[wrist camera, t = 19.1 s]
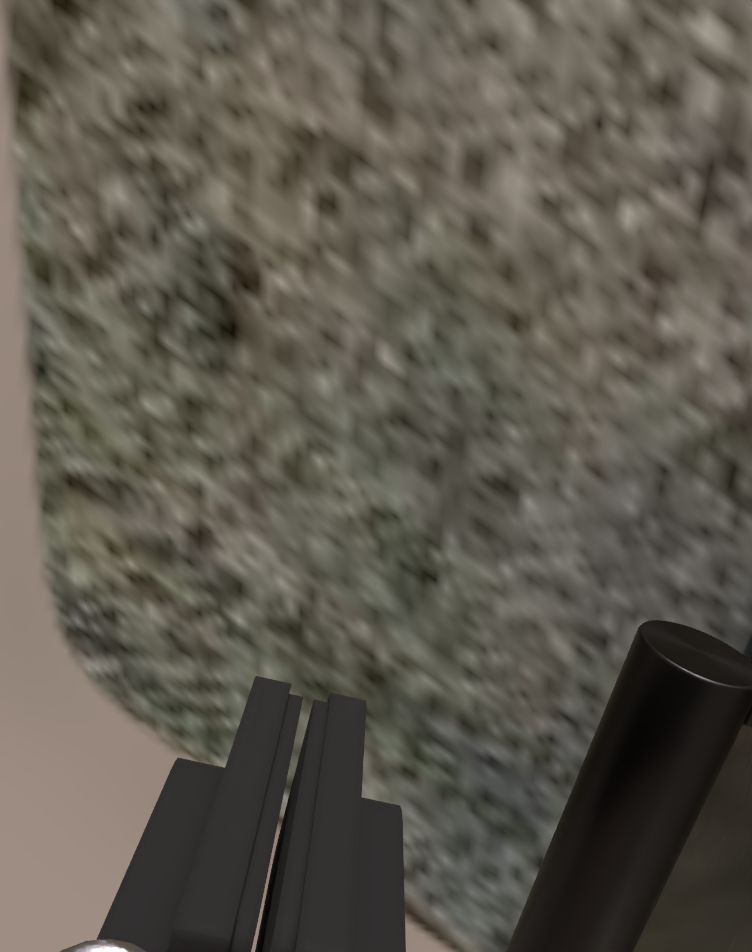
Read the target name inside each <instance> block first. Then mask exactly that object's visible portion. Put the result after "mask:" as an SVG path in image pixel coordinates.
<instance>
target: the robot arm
mask: <svg viewBox="0 0 752 952" xmlns="http://www.w3.org/2000/svg"><path fill="white" fill-rule="evenodd" d="M290 687H291V684H289V683H285V682H281V681H276V680H272V679H267V678H263V677H258V676H256V677H255V679H254V682H253V685H252V688H251V691H250V694H249V698H248V701H247V704H246V707H245V710H244V713H243V716H242V719H241V722H240V725H239V728H238V731H237V734H236V737H235V740H234V743H233V746H232V749H231V752H230V755H229V758H228V761H227V764H226V767H225V768H223V767H219V766H214V765H209V764H205V763H200V762H195V761H191V760H186V759H182V758H177V760H176V761H175V763H174V765H173V767H172V769H171V771H170V773H169V775H168V778H167V780H166V782H165V785H164V787H163V789H162V791H161V794H160V796H159V799H158V801H157V803H156V805H155V807H154V810H153V812H152V814H151V817H150V819H149V821H148V823H147V826H146V828H145V831H144V833H143V835H142V837H141V840H140V842H139V844H138V846H137V849H136V851H135V853H134V855H133V858H132V860H131V862H130V865H129V867H128V869H127V871H126V874H125V876H124V878H123V881H122V883H121V885H120V888H119V890H118V892H117V894H116V897H115V899H114V901H113V903H112V906H111V908H110V910H109V912H108V915H107V917H106V919H105V922H104V924H103V926H102V928H101V931H100V933H99V935H98V938H97V940H93V941H85V942H83V943H80V944H77V945H75V946H72V947H70V948H67V949H64V950H62V951H60V952H251V949H252V945H253V940H254V936H255V931H256V927H257V922H258V917H259V913H260V908H261V902H262V898H263V893H264V888H265V883H266V878H267V873H268V867H269V863H270V858H271V853H272V848H273V843H274V838H275V833H276V829H277V824H278V819H279V814H280V809H281V804H282V799H283V794H284V789H285V784H286V779H287V774H288V769H289V764H290V759H291V754H292V749H293V744H294V739H295V735H296V730H297V725H298V720H299V715H300V710H301V705H302V700H303V697H301V696H296V695H292V694H289V691H290ZM365 718H366V701H365V700H361V699H356V698H352V697H347V696H343V695H338V694H334V693H330V695H329V698H328V702H323V701H319V700H314V702H313V706H312V709H311V713H310V717H309V721H308V725H307V729H306V733H305V737H304V740H303V744H302V748H301V752H300V756H299V760H298V764H297V768H296V772H295V776H294V779H293V783H292V787H291V791H290V795H289V799H288V803H287V807H286V811H285V814H284V818H283V822H282V826H281V830H280V834H279V838H278V843H277V846H276V851H275V855H274V859H273V864H272V869H271V874H270V879H269V884H268V889H267V895H266V899H265V905H264V910H263V915H262V920H261V925H260V930H259V936H258V940H257V945H256V950H255V952H406V947H405V946H406V945H405V903H404V862H403V822H402V810H401V808H400V806H399V805H394V804H389V803H385V802H380V801H376V800H371V799H366V798H362V797H361V794H362V775H363V756H364V737H365Z"/></svg>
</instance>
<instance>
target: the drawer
mask: <svg viewBox="0 0 752 952" xmlns="http://www.w3.org/2000/svg"><path fill="white" fill-rule="evenodd" d="M506 952H752V663H751V662H750V661H749V660H748V659H747V658H746V657H745V656H743V655H742V654H741V653H739V652H738V651H736V650H735V649H734V648H732V647H730V646H729V645H727V644H726V643H724V642H722V641H720V640H718V639H716V638H714V637H712V636H710V635H708V634H706V633H704V632H701V631H699V630H696V629H694V628H691V627H688V626H685V625H681V624H677V623H673V622H668V621H660V620H652V621H647V622H644V623H643V624H642V625H640V627H639V628H638V630H637V633H636V635H635V638H634V640H633V643H632V645H631V648H630V650H629V652H628V655H627V657H626V660H625V662H624V665H623V667H622V670H621V672H620V674H619V677H618V679H617V682H616V684H615V687H614V689H613V692H612V694H611V696H610V699H609V701H608V704H607V706H606V709H605V711H604V714H603V716H602V718H601V721H600V723H599V726H598V728H597V731H596V733H595V736H594V738H593V740H592V743H591V745H590V748H589V750H588V753H587V755H586V758H585V760H584V762H583V765H582V767H581V770H580V772H579V775H578V777H577V780H576V782H575V784H574V787H573V789H572V792H571V794H570V797H569V799H568V802H567V804H566V806H565V809H564V811H563V814H562V816H561V819H560V821H559V824H558V826H557V828H556V831H555V833H554V836H553V838H552V841H551V843H550V846H549V848H548V850H547V853H546V855H545V858H544V860H543V863H542V865H541V868H540V870H539V872H538V875H537V877H536V880H535V882H534V885H533V887H532V889H531V892H530V894H529V897H528V899H527V902H526V904H525V907H524V909H523V911H522V914H521V916H520V919H519V921H518V924H517V926H516V929H515V931H514V933H513V936H512V938H511V941H510V943H509V946H508V948H507V951H506Z"/></svg>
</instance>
